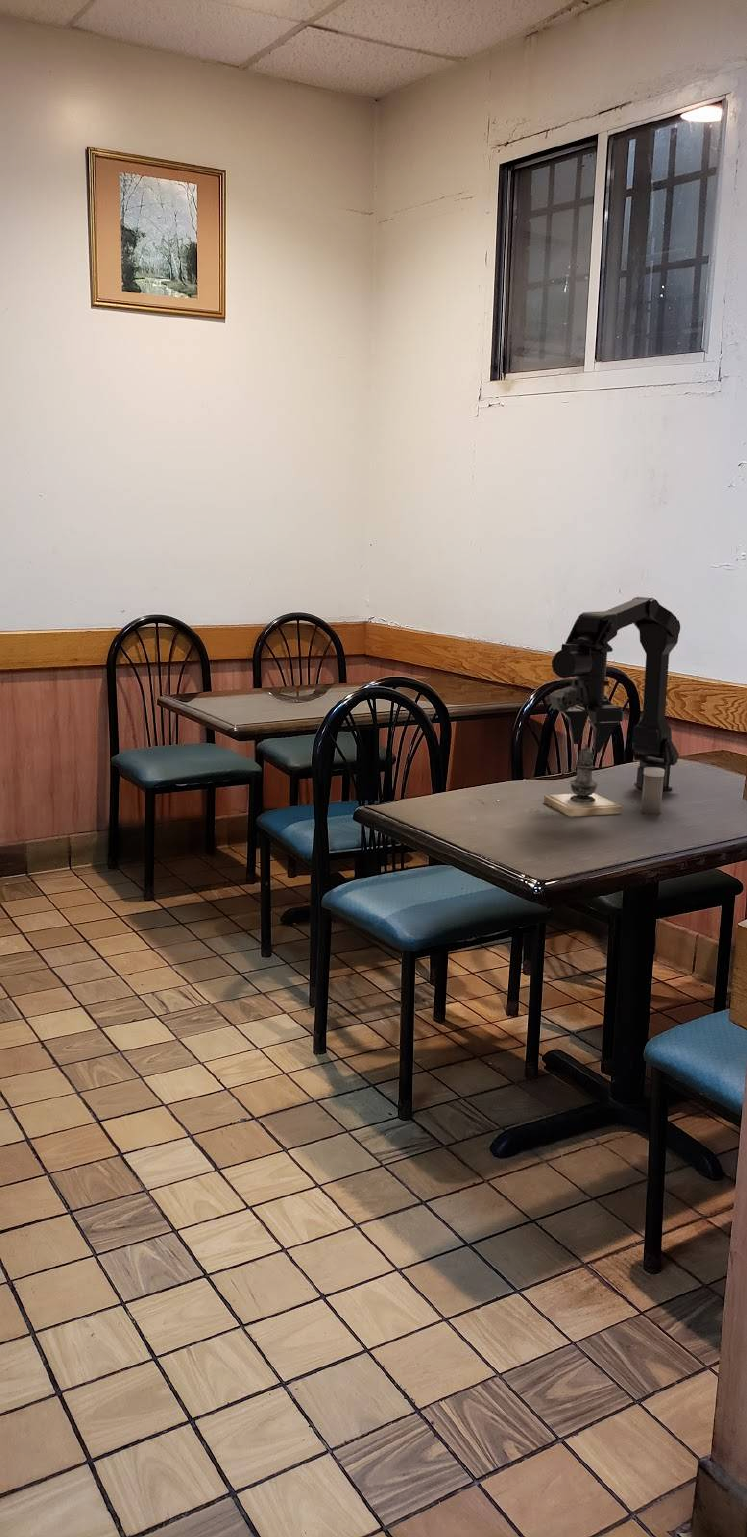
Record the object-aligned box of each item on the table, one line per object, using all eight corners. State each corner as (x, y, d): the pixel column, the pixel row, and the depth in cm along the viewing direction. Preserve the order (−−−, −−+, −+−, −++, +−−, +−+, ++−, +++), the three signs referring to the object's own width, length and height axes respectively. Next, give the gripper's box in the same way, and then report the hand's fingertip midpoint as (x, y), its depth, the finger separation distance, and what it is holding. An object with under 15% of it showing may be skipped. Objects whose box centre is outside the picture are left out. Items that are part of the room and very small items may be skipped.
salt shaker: (598, 803, 248) (602, 747, 245) (570, 802, 248) (574, 746, 245) (594, 796, 254) (598, 741, 251) (566, 795, 254) (570, 740, 251)
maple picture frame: (593, 799, 258) (594, 791, 258) (621, 813, 247) (622, 805, 247) (543, 802, 255) (544, 794, 254) (569, 816, 244) (570, 808, 243)
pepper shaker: (654, 808, 252) (657, 766, 250) (664, 813, 248) (668, 771, 246) (636, 809, 251) (640, 767, 249) (647, 814, 247) (650, 771, 245)
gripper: (536, 668, 251) (531, 741, 254) (577, 681, 234) (572, 759, 237) (583, 668, 254) (578, 739, 258) (627, 680, 237) (621, 757, 241)
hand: (586, 748), depth 248 cm, fingers open, 9 cm apart
